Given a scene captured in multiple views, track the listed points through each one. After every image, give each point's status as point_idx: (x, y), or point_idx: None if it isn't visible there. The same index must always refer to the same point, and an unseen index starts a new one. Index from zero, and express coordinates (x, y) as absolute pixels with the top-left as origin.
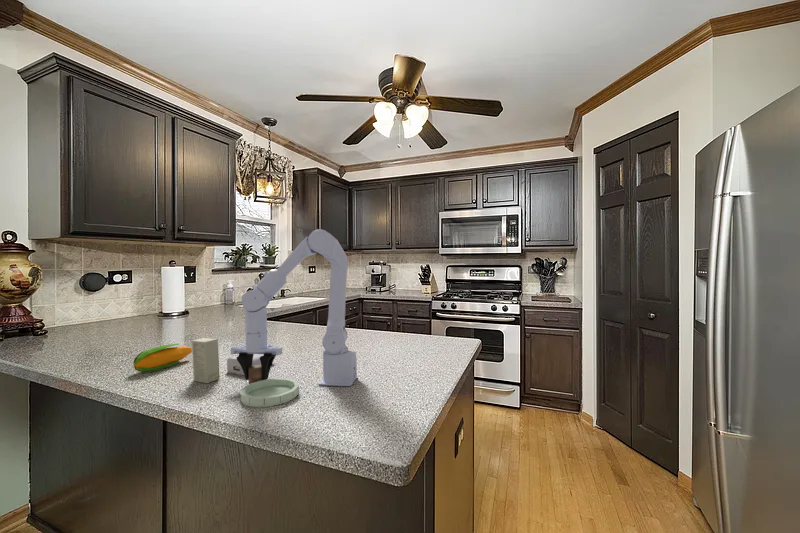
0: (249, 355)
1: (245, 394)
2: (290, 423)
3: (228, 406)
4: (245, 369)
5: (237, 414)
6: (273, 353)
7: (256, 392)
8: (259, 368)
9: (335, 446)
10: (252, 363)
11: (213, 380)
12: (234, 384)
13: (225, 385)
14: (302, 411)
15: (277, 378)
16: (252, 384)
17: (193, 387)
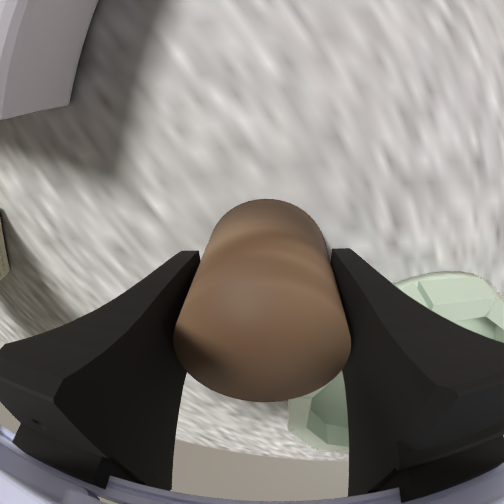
0: (126, 450)
1: (332, 447)
2: None
3: (282, 433)
4: (180, 377)
5: None
6: (491, 471)
7: (343, 382)
8: (317, 385)
9: None
10: (30, 48)
11: (3, 244)
12: (120, 269)
13: (90, 286)
14: None
15: (441, 308)
16: (313, 395)
17: (14, 307)
